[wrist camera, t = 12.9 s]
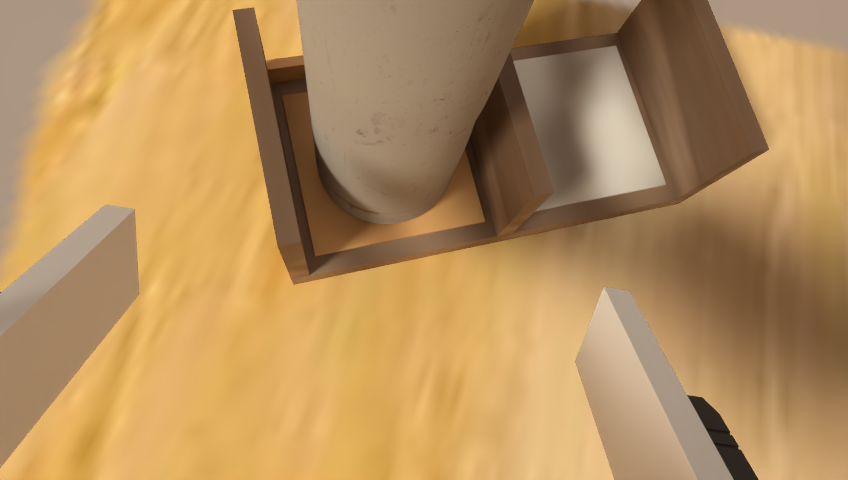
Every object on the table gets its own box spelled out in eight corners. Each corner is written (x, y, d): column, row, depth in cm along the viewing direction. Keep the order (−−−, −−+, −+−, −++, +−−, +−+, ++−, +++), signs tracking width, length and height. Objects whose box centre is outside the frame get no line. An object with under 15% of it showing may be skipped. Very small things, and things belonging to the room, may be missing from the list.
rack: (617, 36, 41) (685, -54, 33) (678, 203, 38) (769, 149, 30) (255, 89, 36) (230, -1, 28) (293, 284, 33) (277, 246, 25)
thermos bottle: (287, 165, 34) (59, -772, 7) (376, 75, 36) (464, -888, 9) (394, 252, 33) (604, -400, 6) (478, 155, 35) (891, -627, 9)
